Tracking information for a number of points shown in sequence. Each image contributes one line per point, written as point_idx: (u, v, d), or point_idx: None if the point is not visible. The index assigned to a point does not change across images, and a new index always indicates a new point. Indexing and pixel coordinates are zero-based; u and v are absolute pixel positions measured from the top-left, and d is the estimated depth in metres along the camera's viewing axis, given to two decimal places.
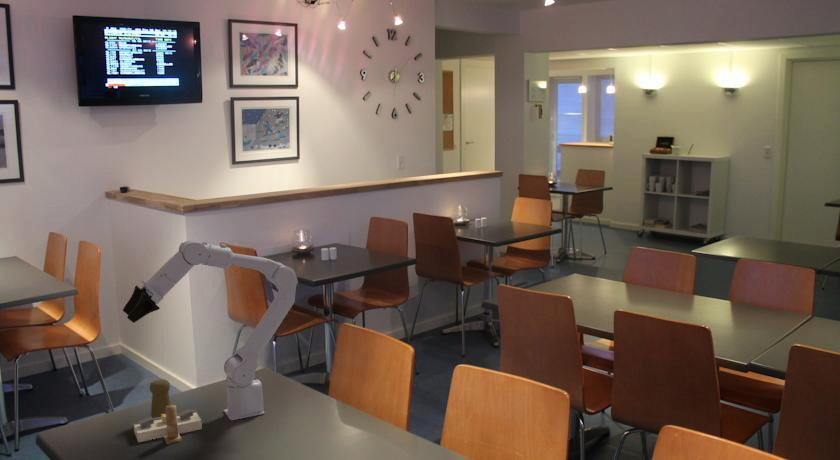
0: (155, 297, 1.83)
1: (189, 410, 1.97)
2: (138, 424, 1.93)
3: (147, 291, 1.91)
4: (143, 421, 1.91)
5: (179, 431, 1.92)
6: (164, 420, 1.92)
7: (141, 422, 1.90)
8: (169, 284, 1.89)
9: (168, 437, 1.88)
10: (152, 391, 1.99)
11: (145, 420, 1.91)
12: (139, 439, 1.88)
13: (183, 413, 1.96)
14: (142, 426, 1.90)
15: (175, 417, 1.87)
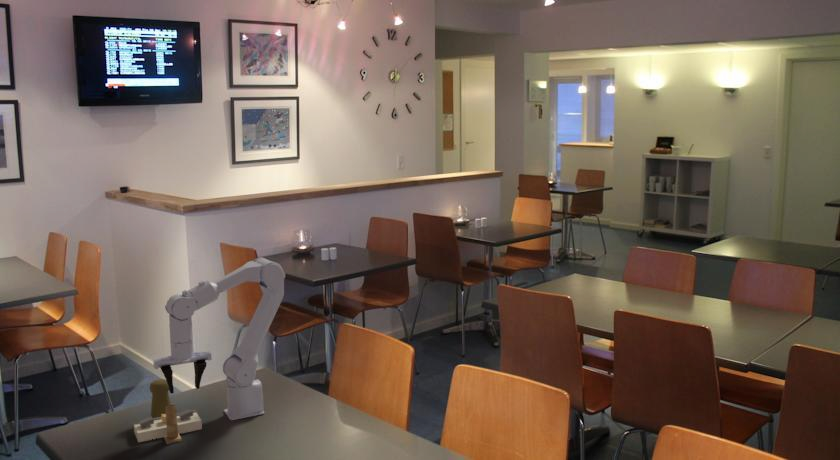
0: None
1: (189, 410, 1.97)
2: (138, 424, 1.93)
3: (173, 364, 1.93)
4: (143, 421, 1.91)
5: (179, 431, 1.92)
6: (164, 420, 1.92)
7: (141, 422, 1.90)
8: None
9: (168, 437, 1.88)
10: (152, 391, 1.99)
11: (145, 420, 1.91)
12: (139, 439, 1.88)
13: (183, 413, 1.96)
14: (142, 426, 1.90)
15: (175, 417, 1.87)
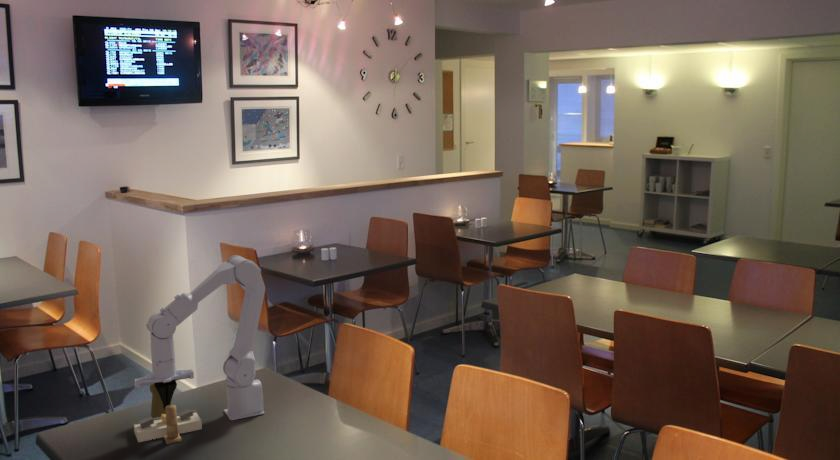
0: None
1: (189, 410, 1.97)
2: (138, 424, 1.93)
3: None
4: (143, 421, 1.91)
5: (179, 431, 1.92)
6: (164, 420, 1.92)
7: (141, 422, 1.90)
8: None
9: (168, 437, 1.88)
10: (152, 391, 1.99)
11: (145, 420, 1.91)
12: (139, 439, 1.88)
13: (183, 413, 1.96)
14: (142, 426, 1.90)
15: (175, 417, 1.87)
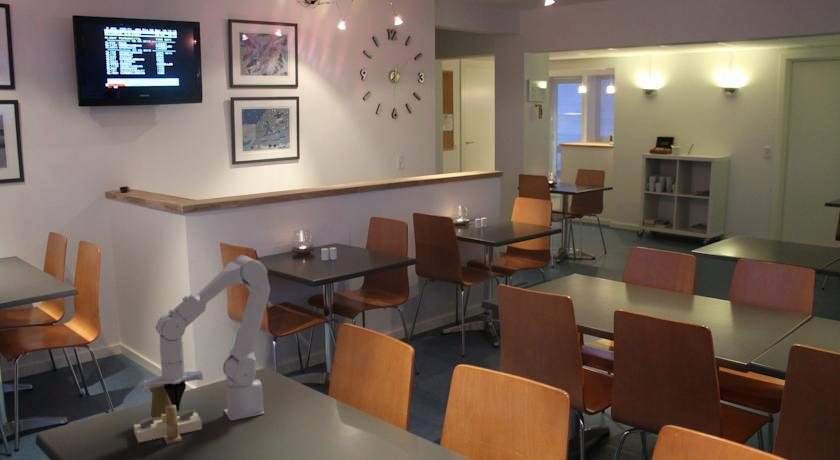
0: None
1: (189, 410, 1.97)
2: (138, 424, 1.93)
3: (164, 384, 1.92)
4: (143, 421, 1.91)
5: (179, 431, 1.92)
6: (164, 420, 1.92)
7: (141, 422, 1.90)
8: None
9: (168, 437, 1.88)
10: (152, 391, 1.99)
11: (145, 420, 1.91)
12: (139, 439, 1.88)
13: (183, 413, 1.96)
14: (142, 426, 1.90)
15: (175, 417, 1.87)
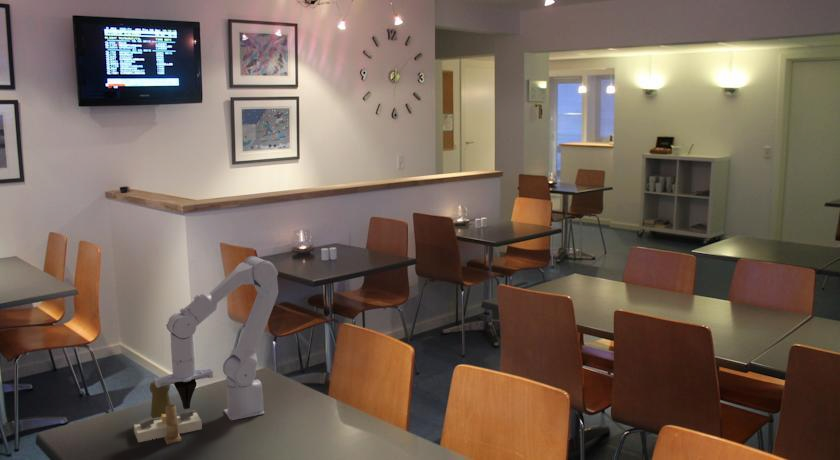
0: None
1: (189, 410, 1.97)
2: (138, 424, 1.93)
3: (175, 382, 1.93)
4: (143, 421, 1.91)
5: (179, 431, 1.92)
6: (164, 420, 1.92)
7: (141, 422, 1.90)
8: None
9: (168, 437, 1.88)
10: (152, 391, 1.99)
11: (145, 420, 1.91)
12: (139, 439, 1.88)
13: (183, 413, 1.96)
14: (142, 426, 1.90)
15: (175, 417, 1.87)
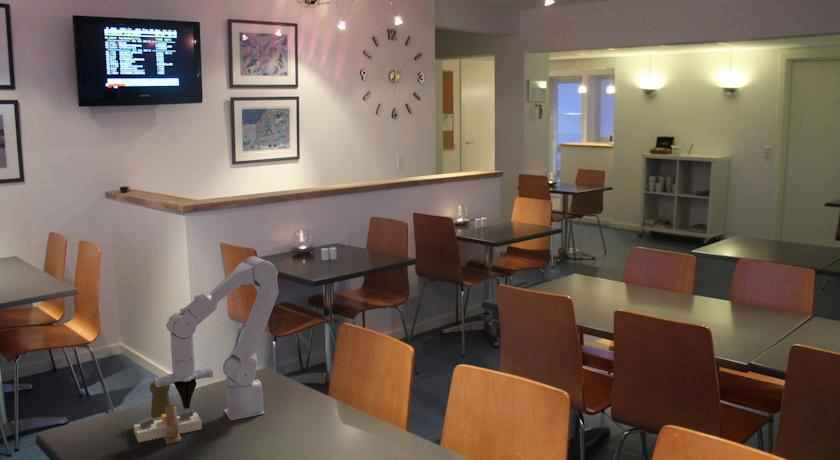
0: None
1: (189, 410, 1.97)
2: (138, 424, 1.93)
3: None
4: (143, 421, 1.91)
5: (179, 431, 1.92)
6: (164, 420, 1.92)
7: (141, 422, 1.90)
8: None
9: (168, 437, 1.88)
10: (152, 391, 1.99)
11: (145, 420, 1.91)
12: (139, 439, 1.88)
13: (183, 413, 1.96)
14: (142, 426, 1.90)
15: (175, 417, 1.87)
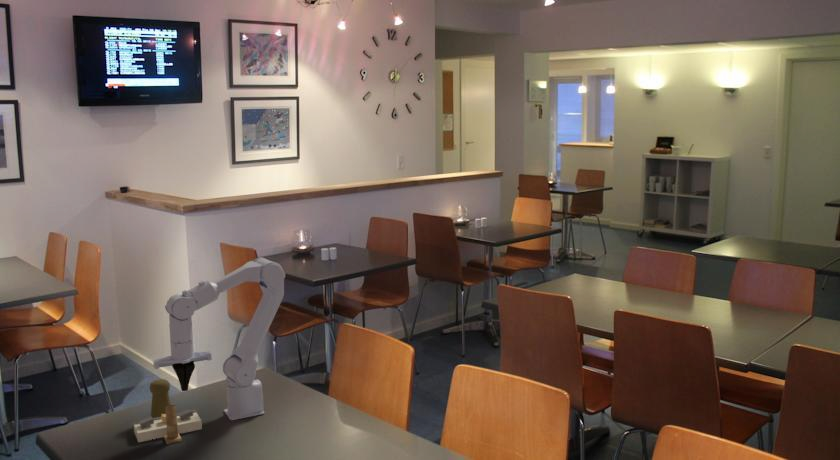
0: None
1: (189, 410, 1.97)
2: (138, 424, 1.93)
3: None
4: (143, 421, 1.91)
5: (179, 431, 1.92)
6: (164, 420, 1.92)
7: (141, 422, 1.90)
8: None
9: (168, 437, 1.88)
10: (152, 391, 1.99)
11: (145, 420, 1.91)
12: (139, 439, 1.88)
13: (183, 413, 1.96)
14: (142, 426, 1.90)
15: (175, 417, 1.87)
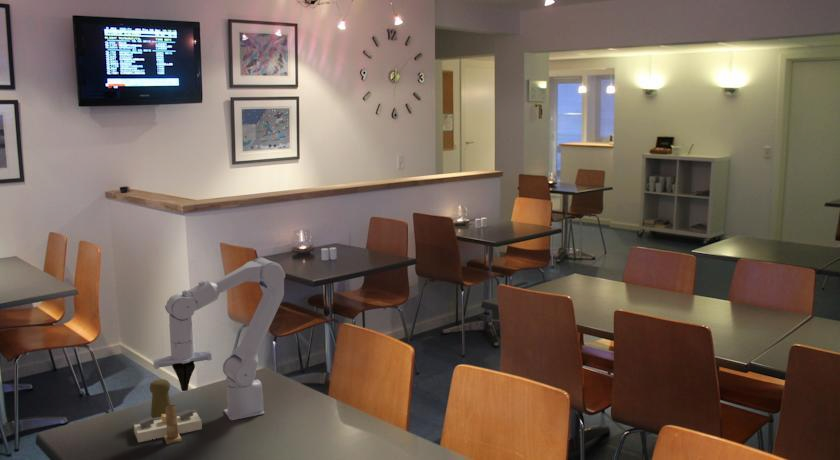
0: None
1: (189, 410, 1.97)
2: (138, 424, 1.93)
3: None
4: (143, 421, 1.91)
5: (179, 431, 1.92)
6: (164, 420, 1.92)
7: (141, 422, 1.90)
8: None
9: (168, 437, 1.88)
10: (152, 391, 1.99)
11: (145, 420, 1.91)
12: (139, 439, 1.88)
13: (183, 413, 1.96)
14: (142, 426, 1.90)
15: (175, 417, 1.87)
